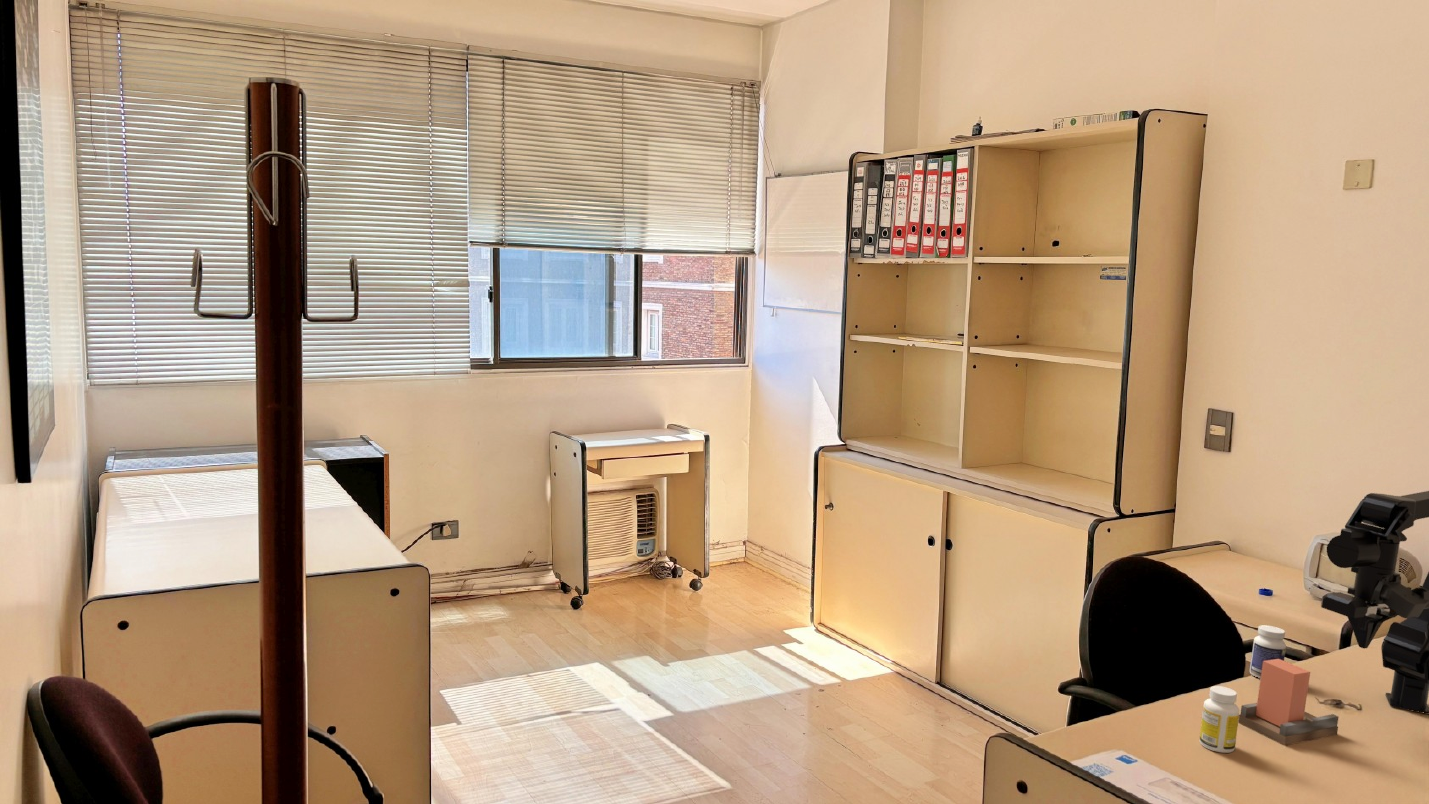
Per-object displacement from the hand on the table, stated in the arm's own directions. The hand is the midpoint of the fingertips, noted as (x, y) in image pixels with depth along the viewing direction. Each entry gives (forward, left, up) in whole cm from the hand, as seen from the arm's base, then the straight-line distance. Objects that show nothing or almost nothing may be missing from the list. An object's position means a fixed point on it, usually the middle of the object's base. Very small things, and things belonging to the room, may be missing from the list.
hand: (1363, 647), depth 184 cm
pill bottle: (-12, -14, -13) cm, 23 cm away
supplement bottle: (+29, -23, -13) cm, 39 cm away
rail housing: (+14, -11, -13) cm, 22 cm away
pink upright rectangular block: (+16, -13, -11) cm, 23 cm away
